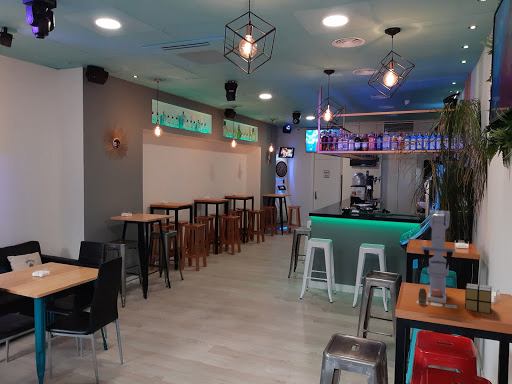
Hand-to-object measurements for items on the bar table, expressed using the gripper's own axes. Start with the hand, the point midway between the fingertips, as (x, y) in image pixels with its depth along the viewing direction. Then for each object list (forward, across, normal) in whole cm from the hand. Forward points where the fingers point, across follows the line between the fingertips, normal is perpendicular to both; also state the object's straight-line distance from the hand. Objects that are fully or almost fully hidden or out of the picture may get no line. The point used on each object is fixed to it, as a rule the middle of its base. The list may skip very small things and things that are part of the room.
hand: (437, 267), depth 180 cm
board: (+17, 0, +5) cm, 18 cm away
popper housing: (+14, 0, +13) cm, 19 cm away
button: (+12, 0, +12) cm, 17 cm away
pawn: (+16, -6, +5) cm, 18 cm away
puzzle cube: (+16, +17, +9) cm, 25 cm away
